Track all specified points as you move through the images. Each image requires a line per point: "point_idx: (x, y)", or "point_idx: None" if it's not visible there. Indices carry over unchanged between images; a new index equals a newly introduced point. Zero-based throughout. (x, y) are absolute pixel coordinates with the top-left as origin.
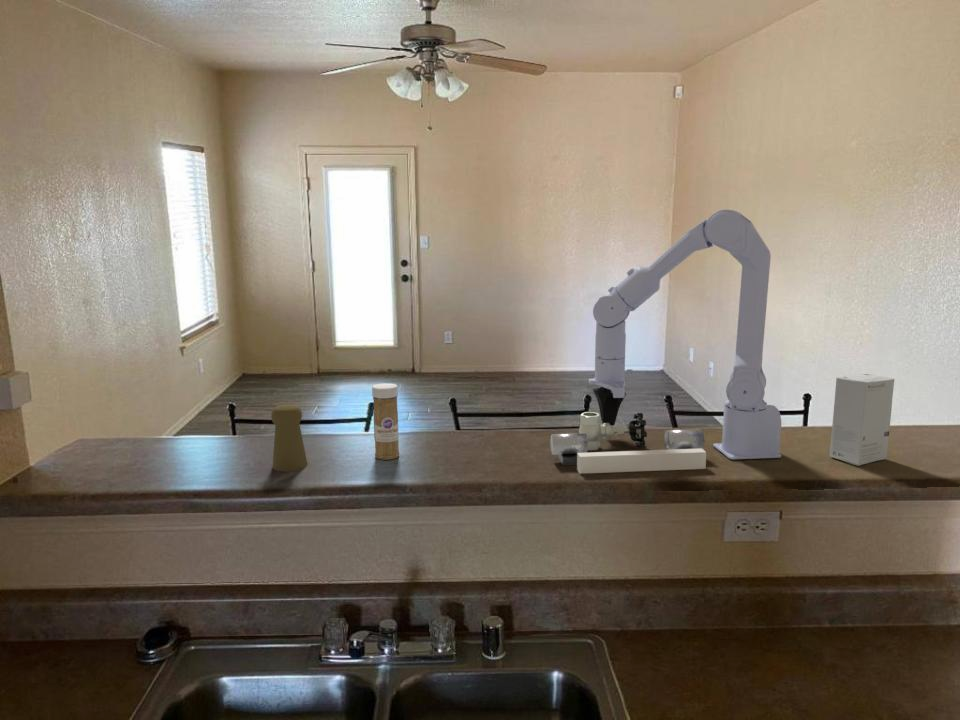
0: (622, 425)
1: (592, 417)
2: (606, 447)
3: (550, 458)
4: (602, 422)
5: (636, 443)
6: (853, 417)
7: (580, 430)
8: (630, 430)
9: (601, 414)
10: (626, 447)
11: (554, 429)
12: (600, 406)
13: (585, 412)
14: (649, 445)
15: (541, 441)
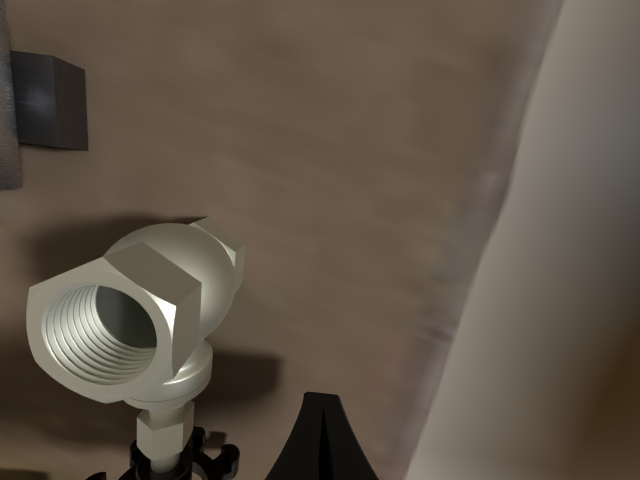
0: (151, 458)
1: (32, 325)
2: None
3: (72, 26)
4: (328, 399)
5: (194, 436)
6: None
7: (148, 228)
8: (137, 465)
9: (320, 429)
10: None
11: (502, 190)
12: (315, 474)
13: (160, 319)
14: None
15: (335, 62)
